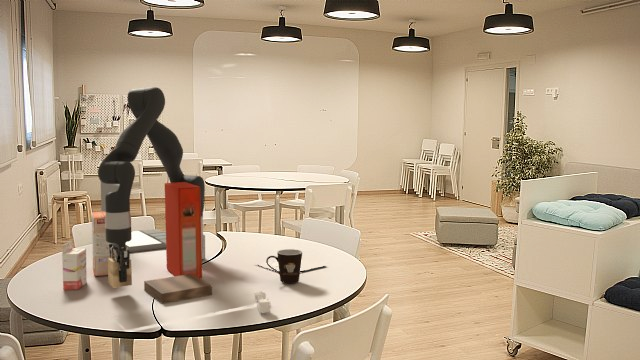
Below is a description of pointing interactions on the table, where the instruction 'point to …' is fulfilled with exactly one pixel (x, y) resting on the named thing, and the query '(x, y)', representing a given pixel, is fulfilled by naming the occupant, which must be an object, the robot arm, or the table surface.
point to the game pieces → (262, 302)
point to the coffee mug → (288, 265)
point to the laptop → (139, 238)
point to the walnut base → (177, 288)
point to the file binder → (183, 229)
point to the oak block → (117, 274)
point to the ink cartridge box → (73, 267)
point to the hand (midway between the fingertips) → (120, 279)
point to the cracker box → (99, 244)
